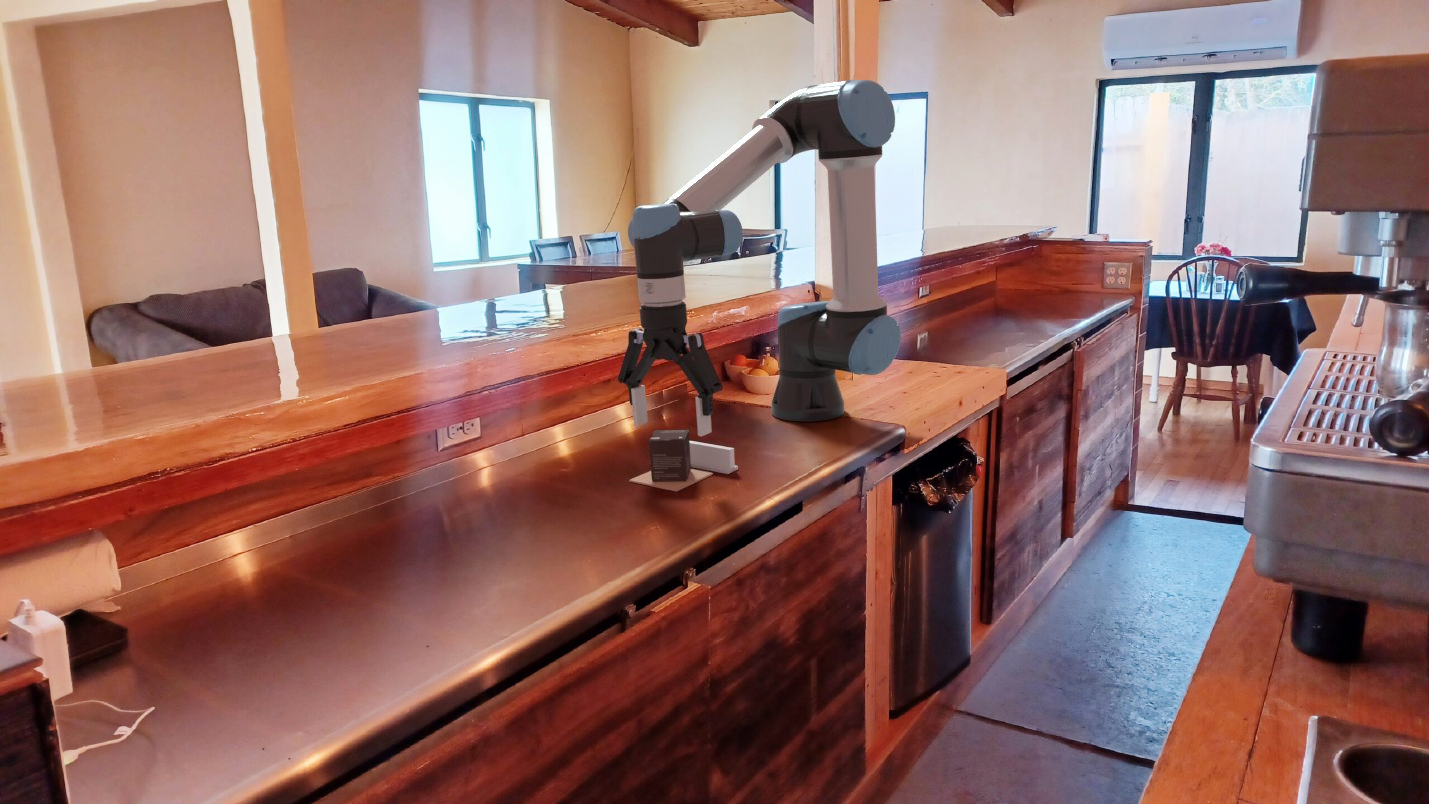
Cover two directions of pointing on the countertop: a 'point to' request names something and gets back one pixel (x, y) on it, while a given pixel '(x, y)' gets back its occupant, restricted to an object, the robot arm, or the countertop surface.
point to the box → (670, 455)
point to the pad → (672, 485)
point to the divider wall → (712, 457)
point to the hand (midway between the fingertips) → (672, 429)
